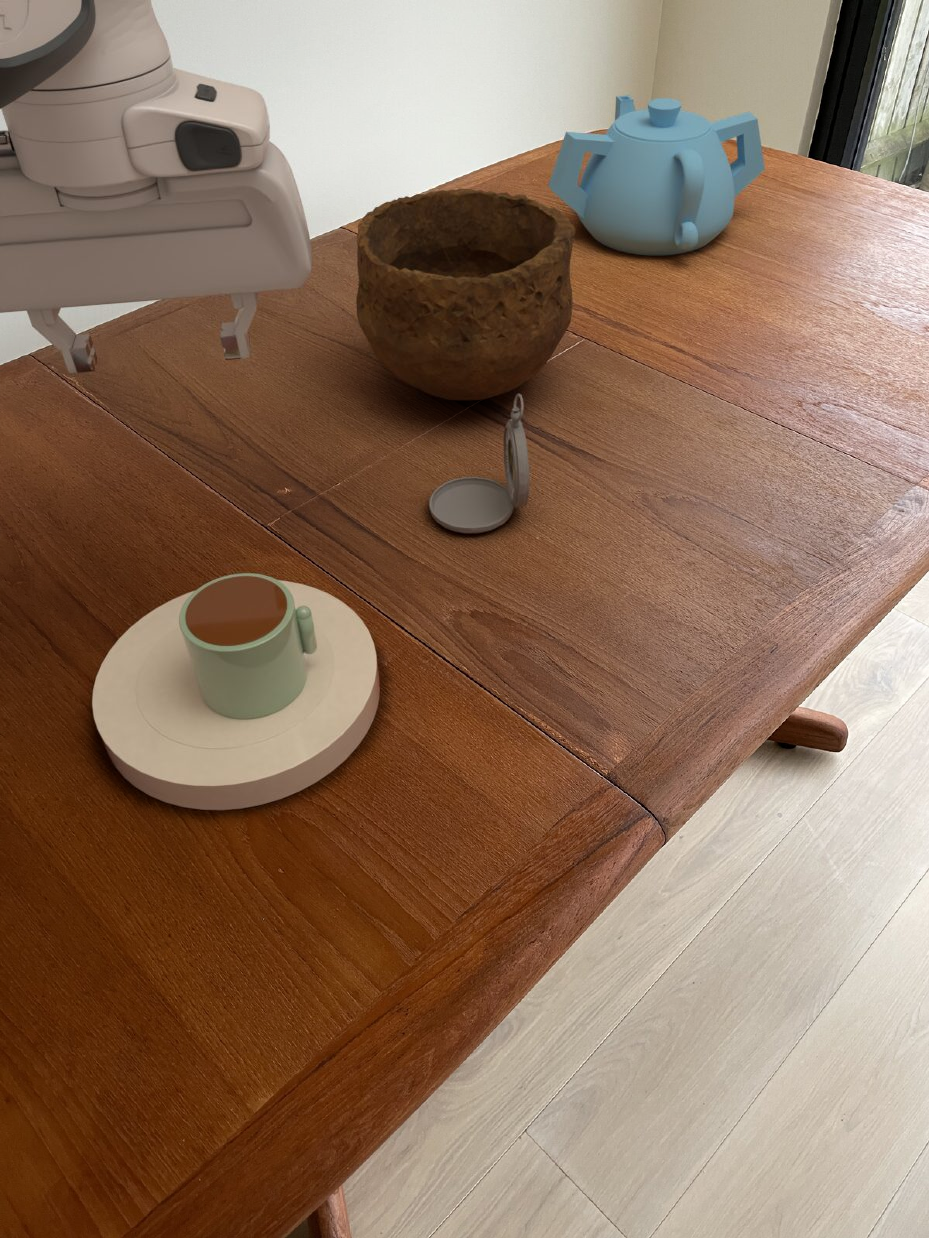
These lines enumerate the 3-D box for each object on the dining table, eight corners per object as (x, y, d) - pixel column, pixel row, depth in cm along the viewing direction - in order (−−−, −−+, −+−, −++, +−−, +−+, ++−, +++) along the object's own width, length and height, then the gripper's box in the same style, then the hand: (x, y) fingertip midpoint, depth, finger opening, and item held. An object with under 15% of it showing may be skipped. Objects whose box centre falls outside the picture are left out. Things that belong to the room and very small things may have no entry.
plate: (106, 842, 59) (94, 817, 57) (98, 634, 71) (89, 609, 69) (408, 769, 62) (406, 743, 60) (350, 582, 74) (346, 557, 73)
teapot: (759, 217, 119) (780, 90, 110) (688, 281, 108) (705, 146, 99) (614, 187, 128) (622, 66, 118) (535, 243, 116) (536, 115, 107)
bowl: (609, 373, 95) (622, 214, 85) (484, 466, 85) (481, 298, 74) (455, 317, 104) (449, 166, 93) (324, 394, 93) (302, 235, 83)
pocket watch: (413, 509, 81) (404, 400, 74) (492, 468, 84) (491, 360, 77) (479, 559, 76) (478, 447, 69) (561, 513, 80) (566, 402, 73)
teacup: (205, 730, 61) (183, 661, 57) (194, 653, 66) (173, 584, 62) (330, 702, 63) (318, 632, 59) (311, 629, 67) (298, 559, 63)
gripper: (-125, 161, 50) (-23, 403, 60) (290, 131, 51) (324, 373, 61) (-89, 119, 55) (1, 350, 64) (291, 92, 56) (324, 323, 65)
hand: (161, 361), depth 63 cm, fingers open, 8 cm apart
